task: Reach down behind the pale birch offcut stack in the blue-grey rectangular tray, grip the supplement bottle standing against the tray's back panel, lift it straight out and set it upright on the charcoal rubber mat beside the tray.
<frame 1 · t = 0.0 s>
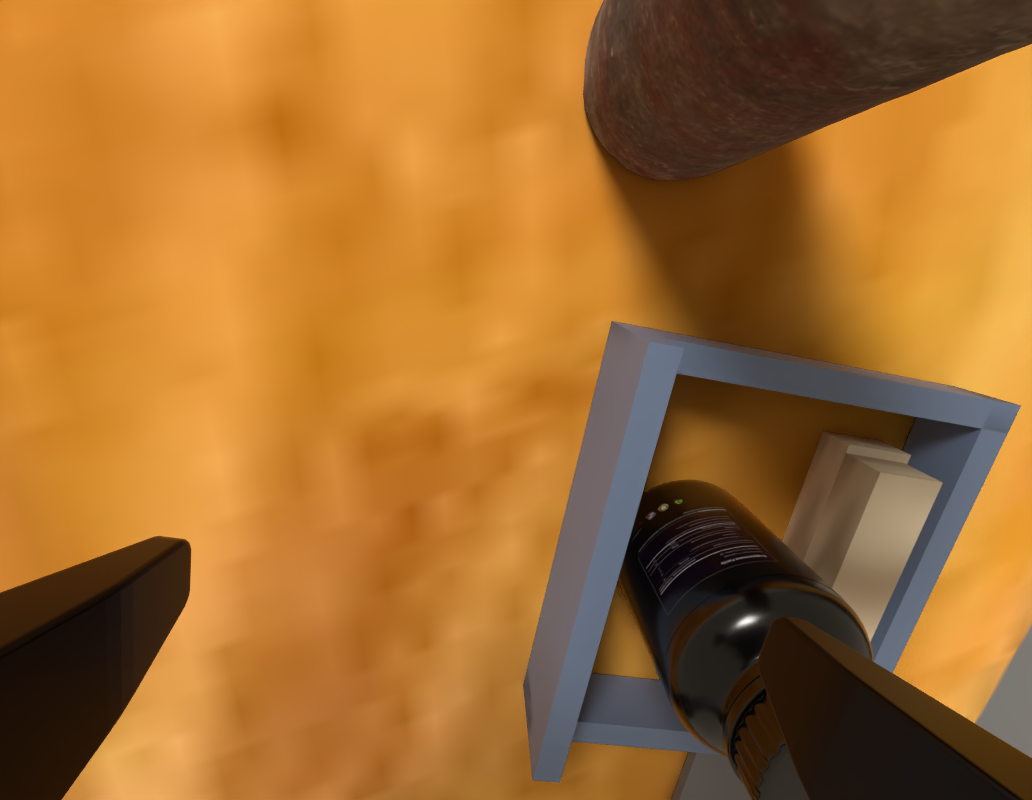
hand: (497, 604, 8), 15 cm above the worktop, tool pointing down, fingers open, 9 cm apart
candle: (675, 75, 19), on the worktop
supplement bottle: (675, 535, 25), resting in blue-grey rectangular tray
blue-grey rectangular tray: (706, 542, 25), on the worktop
mat: (765, 771, 30), on the worktop
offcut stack: (802, 553, 26), resting in blue-grey rectangular tray
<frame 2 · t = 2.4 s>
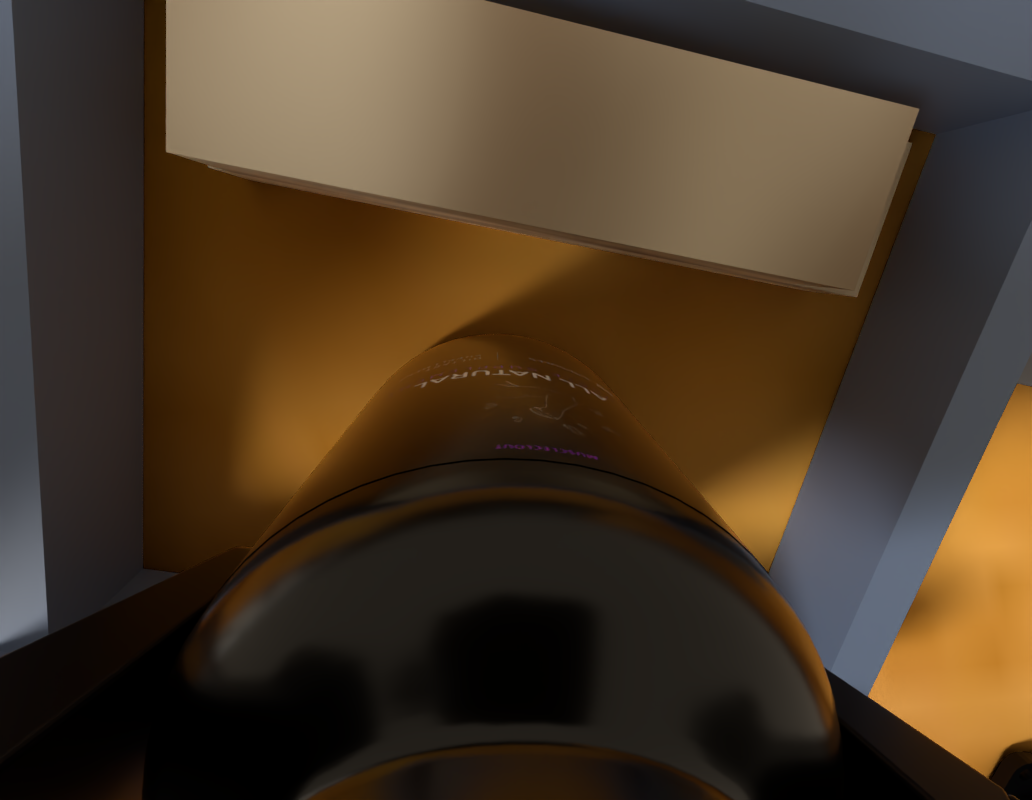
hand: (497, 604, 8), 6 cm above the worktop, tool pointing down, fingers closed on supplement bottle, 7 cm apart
supplement bottle: (492, 457, 13), resting in blue-grey rectangular tray, touching gripper
blue-grey rectangular tray: (503, 405, 13), on the worktop
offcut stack: (557, 170, 12), resting in blue-grey rectangular tray
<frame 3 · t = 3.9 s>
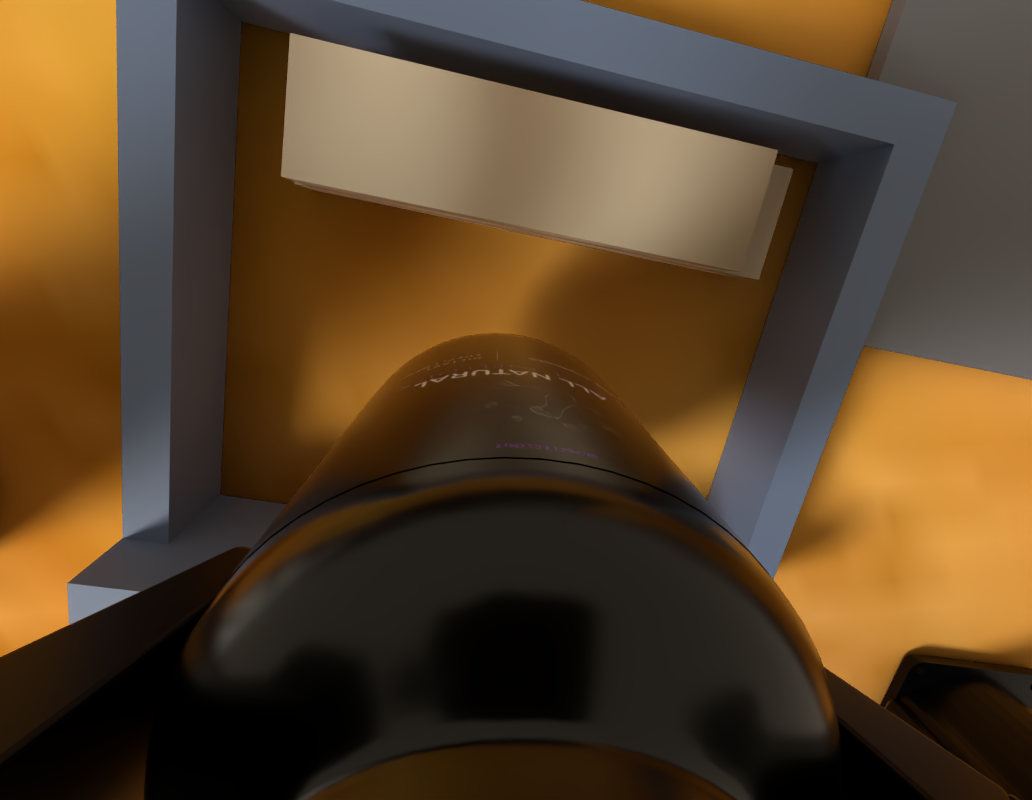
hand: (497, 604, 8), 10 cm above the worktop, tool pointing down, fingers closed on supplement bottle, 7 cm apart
supplement bottle: (491, 457, 13), point 4 cm above the worktop, touching gripper
blue-grey rectangular tray: (497, 367, 17), on the worktop
mat: (978, 202, 16), on the worktop
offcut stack: (541, 184, 15), resting in blue-grey rectangular tray
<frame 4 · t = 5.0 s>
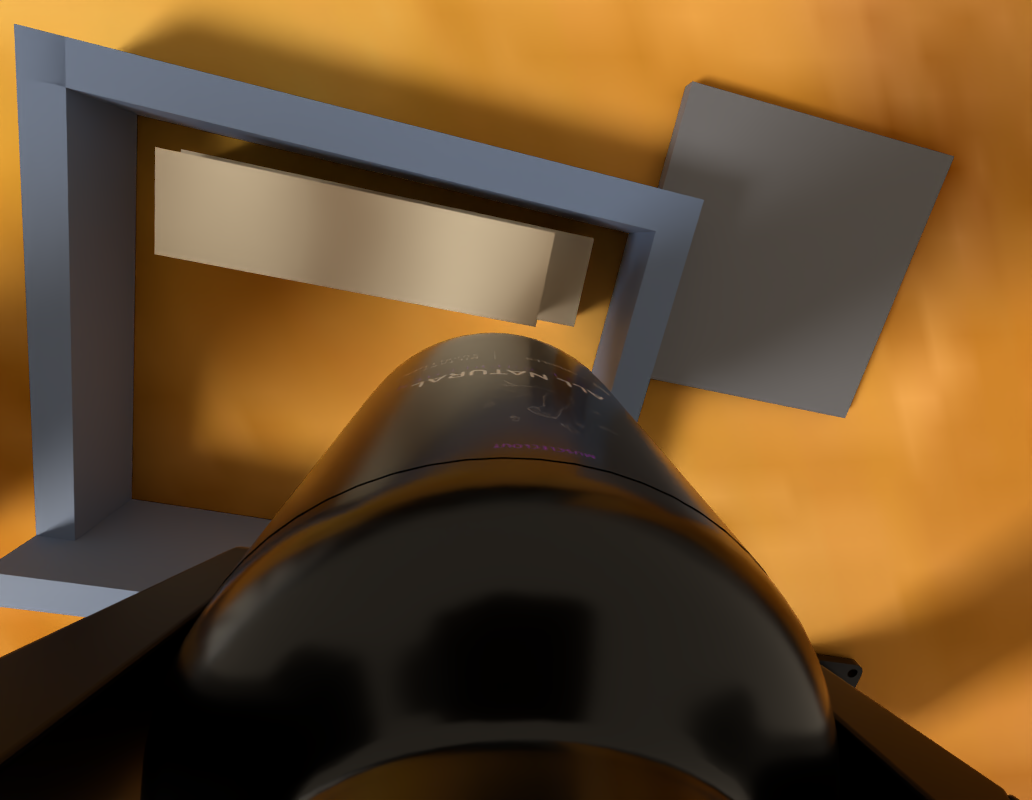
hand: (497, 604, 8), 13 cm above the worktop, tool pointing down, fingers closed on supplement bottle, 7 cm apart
supplement bottle: (489, 457, 13), point 7 cm above the worktop, touching gripper
blue-grey rectangular tray: (366, 396, 20), on the worktop
mat: (768, 266, 19), on the worktop
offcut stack: (400, 244, 19), resting in blue-grey rectangular tray
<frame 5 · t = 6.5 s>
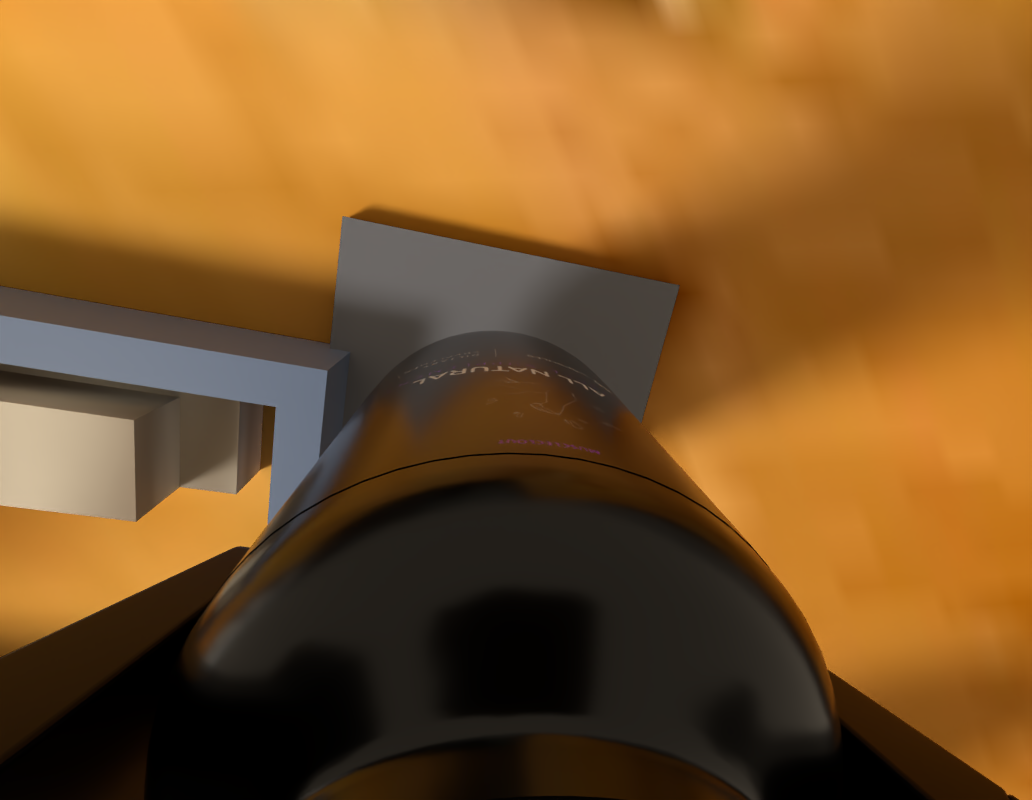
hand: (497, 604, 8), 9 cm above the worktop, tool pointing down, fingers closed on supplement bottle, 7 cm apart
supplement bottle: (488, 455, 13), point 4 cm above the worktop, touching gripper
blue-grey rectangular tray: (37, 561, 17), on the worktop
mat: (487, 407, 17), on the worktop
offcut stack: (50, 393, 16), resting in blue-grey rectangular tray
when the fingers open (7 cm above the worktop, at t = 7.8 s): supplement bottle drops 1 cm, resting on mat.
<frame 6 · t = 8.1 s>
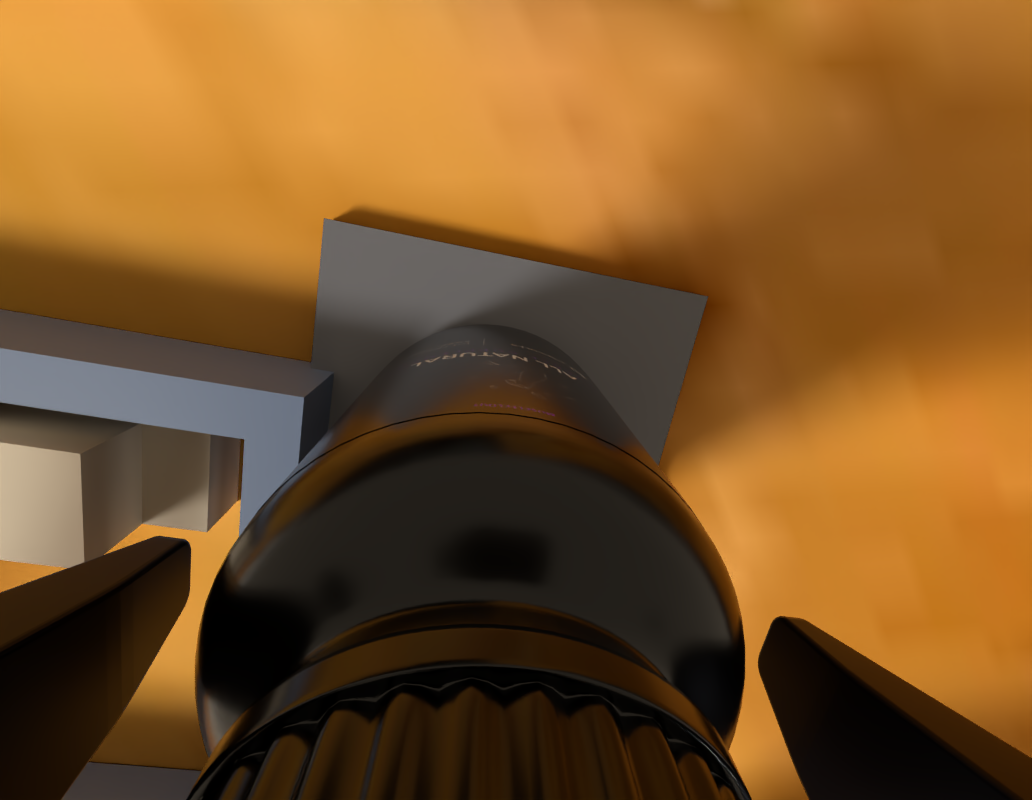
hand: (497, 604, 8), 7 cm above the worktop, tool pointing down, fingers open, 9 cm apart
supplement bottle: (481, 438, 15), resting on mat
mat: (489, 432, 15), on the worktop
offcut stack: (0, 414, 14), resting in blue-grey rectangular tray
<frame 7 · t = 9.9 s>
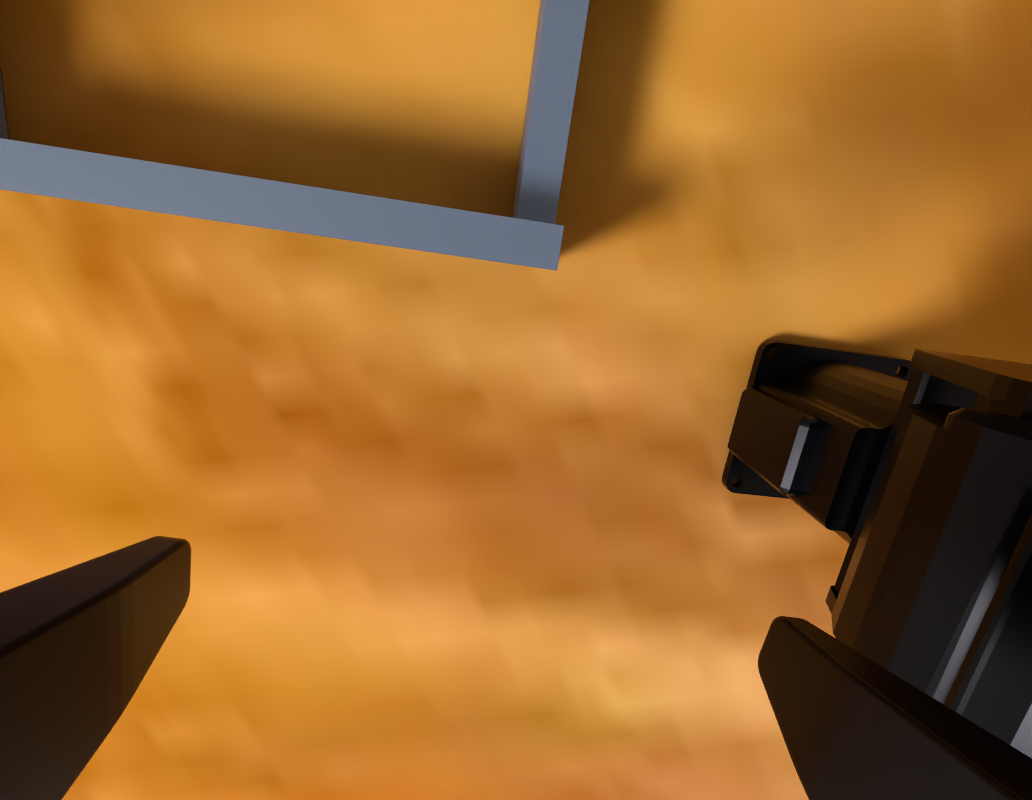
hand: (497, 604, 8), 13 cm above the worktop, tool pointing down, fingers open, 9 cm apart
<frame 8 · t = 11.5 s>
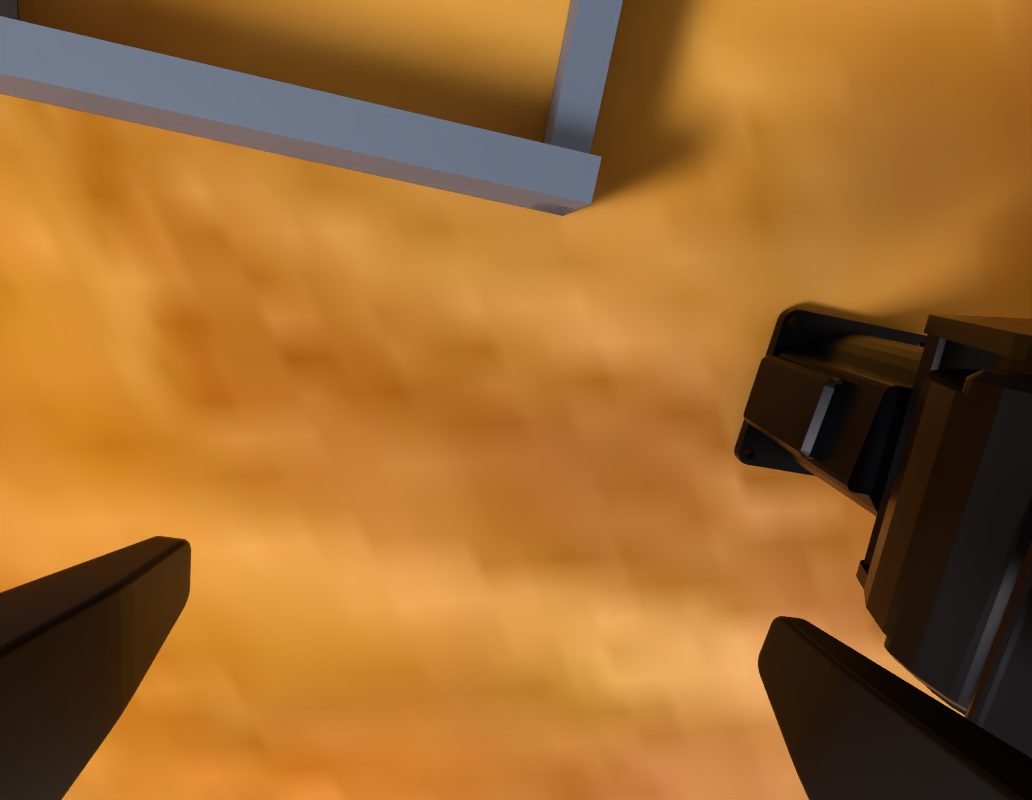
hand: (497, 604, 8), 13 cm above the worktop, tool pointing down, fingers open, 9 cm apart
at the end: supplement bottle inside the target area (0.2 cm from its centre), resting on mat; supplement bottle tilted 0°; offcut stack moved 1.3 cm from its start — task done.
